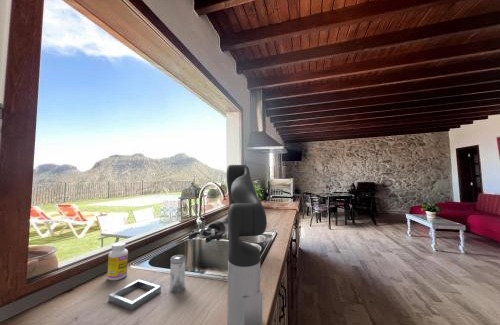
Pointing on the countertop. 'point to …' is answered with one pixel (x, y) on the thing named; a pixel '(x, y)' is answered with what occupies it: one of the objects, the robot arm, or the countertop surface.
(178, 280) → the lidded metal canister
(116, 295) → the collar
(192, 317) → the countertop surface
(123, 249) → the supplement bottle
